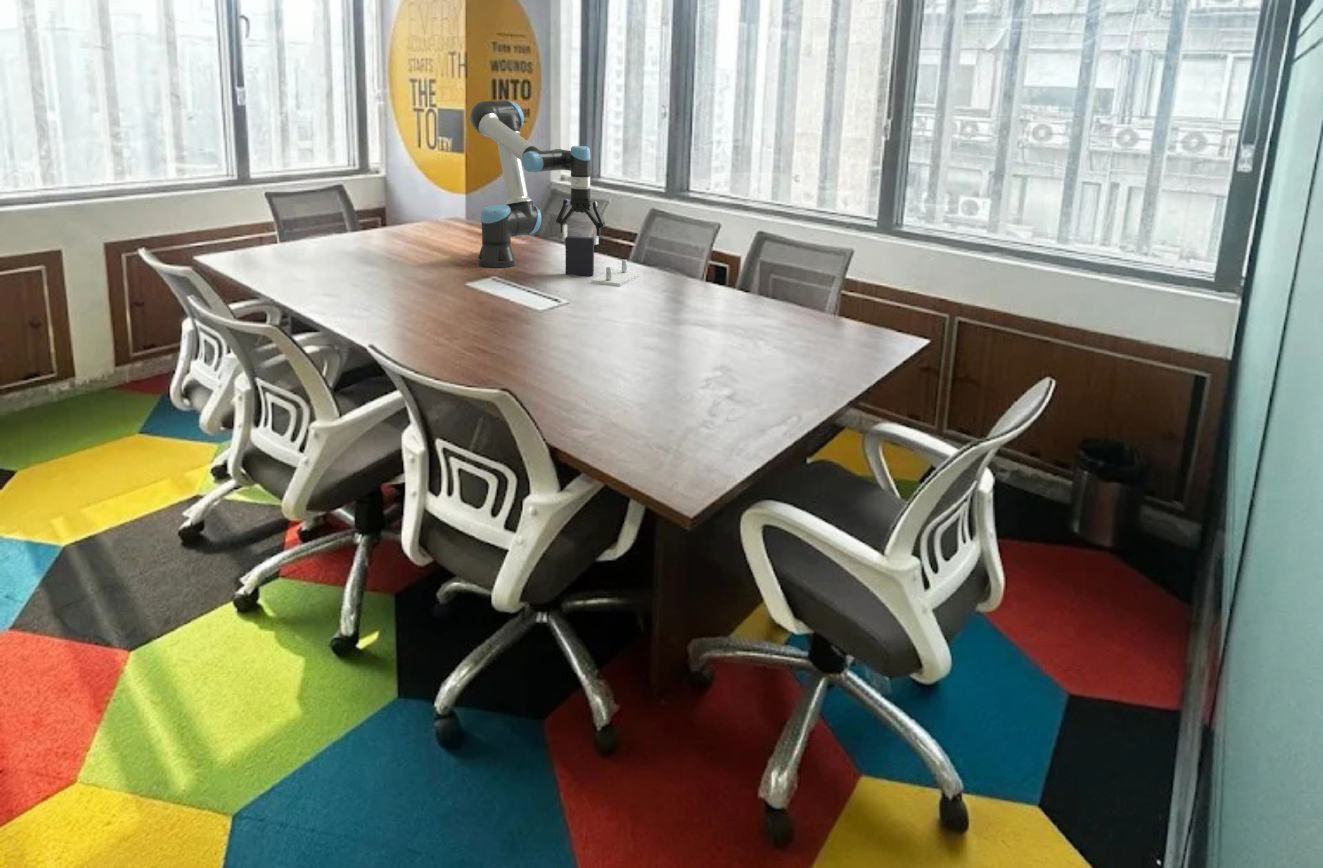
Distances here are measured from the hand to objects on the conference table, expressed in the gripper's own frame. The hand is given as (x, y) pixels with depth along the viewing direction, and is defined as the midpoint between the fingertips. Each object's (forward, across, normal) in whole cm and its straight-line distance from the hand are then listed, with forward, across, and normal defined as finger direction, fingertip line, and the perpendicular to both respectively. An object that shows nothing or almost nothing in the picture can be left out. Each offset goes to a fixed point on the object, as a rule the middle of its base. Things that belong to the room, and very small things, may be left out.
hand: (580, 242), depth 379 cm
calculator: (+13, 0, 0) cm, 13 cm away
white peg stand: (+13, +16, 0) cm, 20 cm away
